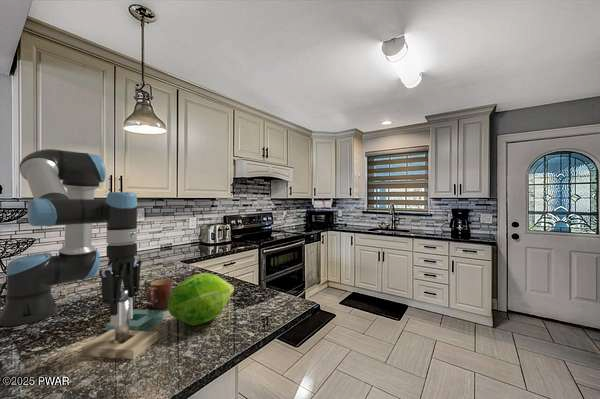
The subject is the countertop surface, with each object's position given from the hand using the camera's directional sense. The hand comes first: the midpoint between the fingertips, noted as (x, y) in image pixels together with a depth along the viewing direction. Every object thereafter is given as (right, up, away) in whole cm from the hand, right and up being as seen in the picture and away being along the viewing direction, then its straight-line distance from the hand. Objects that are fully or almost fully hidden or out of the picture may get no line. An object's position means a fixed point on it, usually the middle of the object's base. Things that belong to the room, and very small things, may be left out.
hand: (122, 321), depth 76 cm
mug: (-5, -8, +29) cm, 30 cm away
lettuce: (+18, -8, +17) cm, 26 cm away
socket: (-4, -8, +13) cm, 16 cm away
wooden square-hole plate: (0, -8, 0) cm, 8 cm away
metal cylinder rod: (0, -5, 0) cm, 5 cm away
